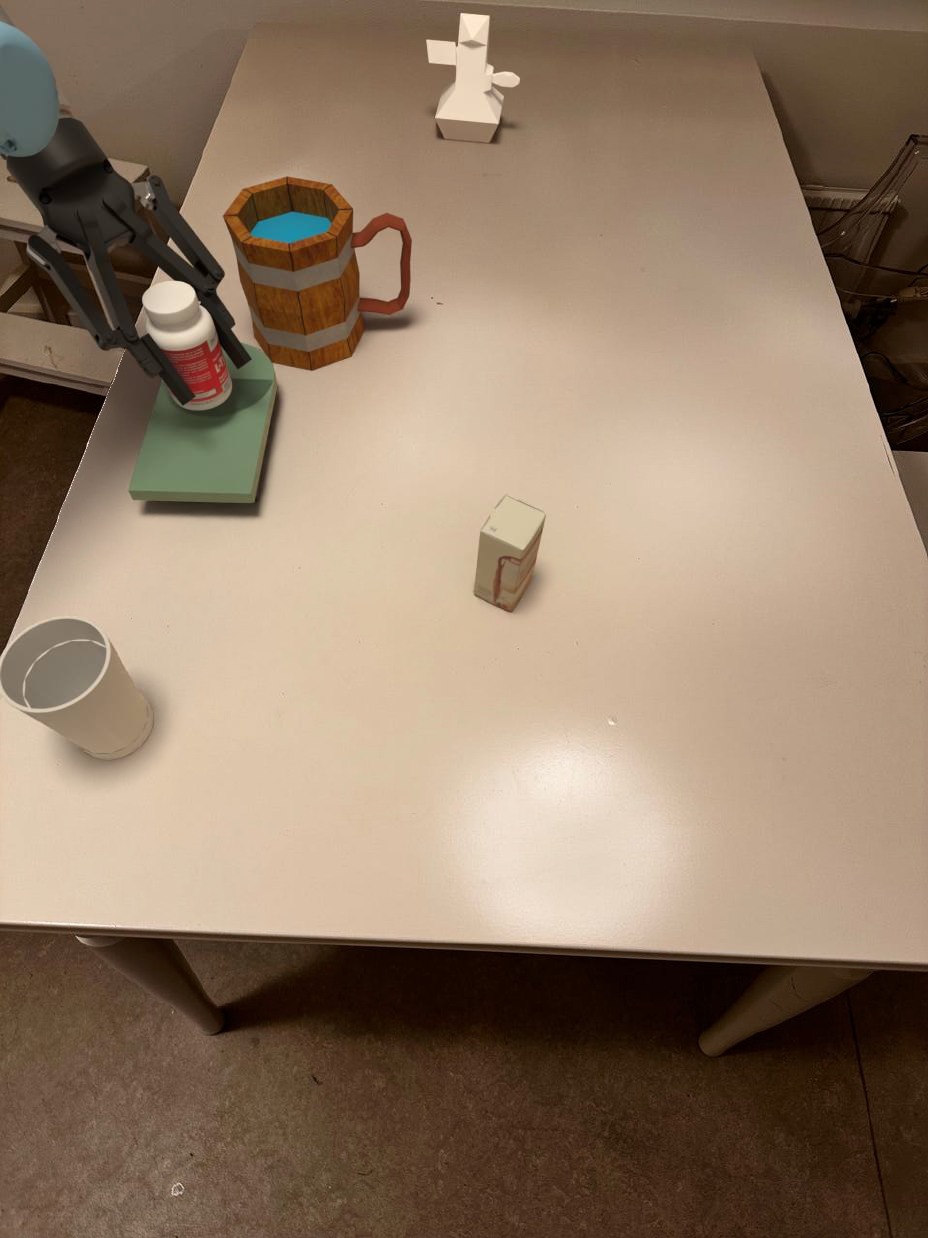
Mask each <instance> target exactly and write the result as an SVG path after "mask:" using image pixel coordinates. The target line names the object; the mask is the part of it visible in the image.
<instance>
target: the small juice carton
mask: <svg viewBox="0 0 928 1238" xmlns="http://www.w3.org/2000/svg"><path fill="white" fill-rule="evenodd" d="M546 518H547V512H546V511H544V510H543V509H540V508H539V507H536V506H535V505H532V504H530V503H528V502H526V501H523V500H522V499H520V498H517V497H515V496H513V495H511V494H508V493H504V494H503V496H502V497H501V499H499V501H498V502H497V504H496V505H495V506H494V508H493V510H492V511H491V512H490V513H489V515H488V517H487V518H486V520H485V522H484V523H483V525H482V527H481V528H480V530H479V539H478V549H477V559H476V568H475V576H474V577H475V579H474V586H473V587H474V588H473V589H474V590H473V594H474V595H475V596H477V597H479V598H481V599H483V600H485V601H487V602H489V603H490V604H492V605H495V606H496V607H498V608H501V609H503V610H505V611H508V612H512V611H514V609H515V608H516V606H517V605H518V603H519V601H520V600H521V598H522V597H523V595H524V593H525V592H526V589H527V588H528V586H529V585H530V583H531V581H532V579H533V577H534V576H533V575H534V572H535V568H536V567H535V566H536V563H537V558H538V553H539V548H540V545H541V540H542V536H543V530H544V526H545V522H546Z"/></svg>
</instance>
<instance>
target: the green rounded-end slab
mask: <svg viewBox="0 0 928 1238" xmlns="http://www.w3.org/2000/svg"><path fill="white" fill-rule="evenodd" d="M240 343H241V344H242V345H243V347H244V348H245V350H246V351H247V353H248V354H249V355H250V357H251V358H252V360H250V361H249V362H248V363H246V364H245V365H244V366H242V367H241V368H239V369H237V368H236V366H235V365H234V363H233V362H232V361H231V359H230V358H229V356H228V355H227V354H226V352H225V351H224V349H223V348H222V347H221V348H222V351H223V355H224V358H225V361H226V364H227V367H228V371H229V374H230V377H231V381H232V390H231V393H230V395H229V397H228V398H227V399H226V400H225V401H224V402H223V403H222V404H220V405H218V406H216V407H214V408H211V409H207V410H189V409H186V408H183V407H181V406H180V405H178V404H177V403H176V402H175V401H174V399H173V398H172V396H171V394H170V391H169V389H168V386H167V385H166V384H165V382H164V381H163V380H162V379H161V383H160V386H159V389H158V393H157V396H156V398H155V402H154V405H153V408H152V412H151V415H150V418H149V422H148V424H147V428H146V431H145V435H144V437H143V440H142V443H141V447H140V450H139V453H138V456H137V460H136V463H135V466H134V469H133V473H132V476H131V480H130V482H129V485H128V489H127V492H128V493H129V495H130V496H131V499H132V500H133V501H155V502H158V501H159V502H189V503H190V502H191V503H192V502H195V503H196V502H197V503H229V504H230V503H233V504H234V503H235V504H255V503H256V502H259V497H260V492H261V488H260V485H259V481H260V475H261V471H262V465H263V461H264V456H265V450H266V445H267V441H268V436H269V431H270V427H271V426H270V425H271V419H272V416H273V410H274V405H275V400H276V396H277V388H278V380H277V375H276V370H275V367H274V364H273V362H271V360H270V359H269V358H268V356H266V354H265V353H264V351H263V350H260V349H259V348H257V347H255V346H254V345H251V344H248V343H245V342H241V341H240Z"/></svg>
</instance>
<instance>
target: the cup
mask: <svg viewBox="0 0 928 1238" xmlns="http://www.w3.org/2000/svg"><path fill="white" fill-rule="evenodd" d="M0 696H1V697H2V698H3V700H4V701H5V702H6V703H7V704H8V705H10V706H12V707H13V708H15V709H16V710H18V711H20V712H21V713H23V714H25V715H27V716H29V717H30V718H32V719H34V720H35V721H37V722H39V723H41V724H43V725H44V726H46V727H47V728H49V729H51V730H52V731H54V732H56V733H57V734H59V736H62V737H63V738H65V739H66V740H68V741H70V742H71V743H73V744H74V745H76V746H78V747H79V748H81V749H82V750H83V751H84V752H85V753H86V754H88V755H89V756H91V757H93V758H95V759H99V760H103V761H104V760H105V761H110V760H111V761H112V760H118V759H121V758H125V757H126V756H129V755H131V754H132V753H134V752H135V751H137V750H138V749H139V748H140V747H141V746H142V745H144V743H145V742H146V741H147V739H148V738H149V736H150V734H151V732H152V729H153V726H154V718H155V717H154V710H153V707H152V705H151V704H150V702H149V701H148V700H147V699H146V697H144V695H143V694H142V693H141V691H140V690H139V687H138V686H137V685H136V683H135V682H134V680H133V678H132V677H131V675H130V673H129V672H128V670H127V669H126V667H125V665H124V664H123V661H122V660H121V658H120V655H119V653H118V652H117V650H116V648H115V647H114V645H113V643H112V641H111V640H110V637H109V636H108V634H107V633H106V631H105V630H104V629H103V628H102V627H101V626H100V625H99V624H98V623H96V622H95V621H94V620H91V619H90V618H87V617H83V616H79V615H71V614H64V615H55V616H51V617H47V618H44V619H40V620H39V621H37V622H34V623H32V624H31V625H29V626H27V627H25V628H24V629H22V631H20V632H19V633H17V634H16V635H15V636H14V637H13V638H12V639H11V641H10V642H9V643H8V644H7V646H5V648H4V649H3V651H2V653H1V654H0Z"/></svg>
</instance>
